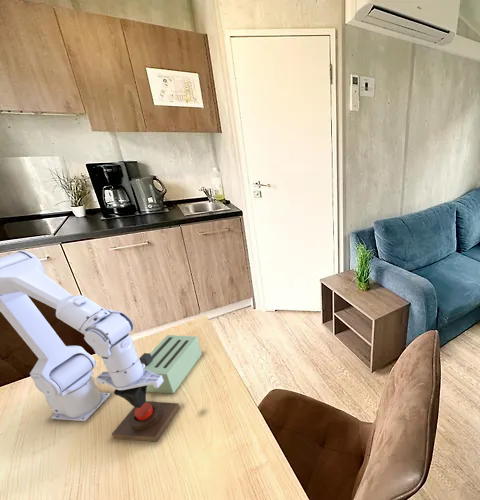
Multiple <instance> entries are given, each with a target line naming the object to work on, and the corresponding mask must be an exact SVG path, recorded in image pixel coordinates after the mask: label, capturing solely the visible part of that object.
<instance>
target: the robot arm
mask: <svg viewBox="0 0 480 500" xmlns="http://www.w3.org/2000/svg"><path fill="white" fill-rule="evenodd" d="M31 298H32V299H35V300H36V301H39V302H41V303H43V304H45V305H47V306H49V307H50V308H53V309H54V310H55V317H56V318H57V319H58V320H60V321H62V322H63V323H65V324H67V325H68V326H70V327H71V328H73V329H74V330H76V331H77V332H79V333H81V334H82V335H84V337H83V339H84V341H85V342H86V343H87V344H88V345H89V346H90V347H91V348H92V349H93V351H94V353H95V354H96V355H97V356H99V357H101V360H102V362H103V364H104V367H105V368H106V370H107V371H102V372H101V373H99V375H98V376H97V377H96V378H95V379H96V382H97V384H98V385H104V384H106V385H107V386H109V387H111V388H113V389H114V391H113V394H114V395H115V396H117V397H120V398H122V399H123V400H125V401H127V402H128V403H129V404H130V405H131V406H133V408H134V407H135V408H140V407H141V406H142V405H143V404H144V403H145V401H147V392H146V388H147V385H153V386H154V388H159V386H160V385H161V384H162V383H163V381H164V380H163V378H162V375H157V374H154V373H152V372H150V371H148V370H146V369H144V368H145V364H141V362H140V359H139V358H140V357H139V355H138V351H137V348H136V346H135V345H134V342H133V338H132V337H131V334H130V333H131V332H132V331H134V328H135V327H134V322H133V321H132V319H131V318H130V317H129V316H128V315H127V314H125V313H124V312H123V311H120V310H113V309H112V308H109V309H106V308H104V307H102V305H99V304H98V303H97V302H95V301H93V300H91V299H90V298H88V297H87V296H85V295H82V294H79V295H73V294H71V293H70V292H68V291H67V290H66V289H65V288H64V287H62V286H61V285H60V284H58V283H57V282H56V281H54V279H53V278H51V277H49V276H48V275H47V274H46V271H45V267H44V266H43V263H42V262H41V261H40V259H39V258H38V256H36V255H35V254H34V253H32V252H30V251H27V250H23V249H22V250H21V249H20V250H17V251H16V252H14V253H11V254H7V255H4V256H2V257H0V313H1V314H2V315H3V317H4V318H5V319H6V320H7V322H8V323H9V324H10V325H11V327H12V328H13V329H14V330H15V331H16V333H17V334H18V336H19V337H21V339H22V340H23V341H24V342H25V343H26V345H27V346H28V347H29V349H30V350H31V351H32V353H34V355H35V356H36V357H37V358H38V359H37V361H36V363H35V364H34V366H33V368H31V371H30V372H29V375H30V377H31V379H32V381H33V383H34V386H35V388H36V389H37V390H38V391H39V392H40V393H42V395H44V399H45V401H46V403H47V404H48V406H49V407H50V409H51V410H52V412H53V415H52V416H51V417H50V418H51V419H52V420H61V421H77V422H86V421H88V420H89V419H90V417H91V416H92V415H93V414H94V413H95V412H96V411H97V410H98V409H99V408H100V407H101V406H102V405H103V404H104V403H105V402H106V401H107V399H109V398H110V397H111V395H112V394H111V393H110V392H101V391H100V390H99V388H98V386H97V384H96V382H95V380H94V378H93V376H92V375H93V374H94V369H95V368H96V360H95V358H94V357H93V355H91V354H90V353H89V352H87V351H86V350H85V348H84V347H82V346H80V345H66V344H65V343H64V342H63V340H62V339H61V337H59V335H58V334H57V332H56V331H55V330H54V328H53V327H52V326H51V324H50V323H49V322H48V321H47V319H46V318H45V316H44V315H43V314H42V312H41V311H40V310H39V308H37V306H36V305H35V303H34V302H33V301H32V299H31Z"/></svg>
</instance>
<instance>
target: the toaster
mask: <svg viewBox="0 0 480 500" xmlns="http://www.w3.org/2000/svg"><path fill="white" fill-rule="evenodd" d="M200 345H201V344H200V342H199V338H198V336H193V335H175V334H166V336H165V337H164V338H163V339H162V340H161V341H160V342H159V343H158V344H157V345H156V346H155V347H154V348H153V349H152V350H151V352H149V353H150V354H151V357H152V362H151V363H150V364H149V365H145V368H144V369H146V370H148V371H150V372H152V373H154V374H157V375H162V378H163V380H164V381H163V383H162V384H161V385H160V386H159V388H154V386H153V385H147V388H146V393H160V394H175V392H176V391H177V389H178V388H179V387H180V385H181V384H182V383H183V382H184V380H185V378H186V377H187V376H188V374H189V373H190V371H191V370H192V369H193V367H195V365H196V363H197V362H198V360H199V359H200V358H201V357H202V355H203V353H202V349H201V346H200Z"/></svg>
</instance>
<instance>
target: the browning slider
mask: <svg viewBox="0 0 480 500" xmlns="http://www.w3.org/2000/svg"><path fill="white" fill-rule="evenodd" d="M150 353H151V352H144V353H143V354H142V355H141V356H140V357H139V360H140V362H141V364H145V365H149V364H150V363H151V362H152V357H151V354H150Z"/></svg>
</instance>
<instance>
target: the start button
mask: <svg viewBox="0 0 480 500" xmlns="http://www.w3.org/2000/svg"><path fill="white" fill-rule="evenodd" d="M153 411H154V410H153V407H152V405H151V404H150V403H145V404H143V405H142V406H141V407H140V408H137V409H136V410H135V413H134V414H135V417H136V419H137V420H138V421H143V420H146V419H147V418H149V417H150V416H151V415H152V414H153Z"/></svg>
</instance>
